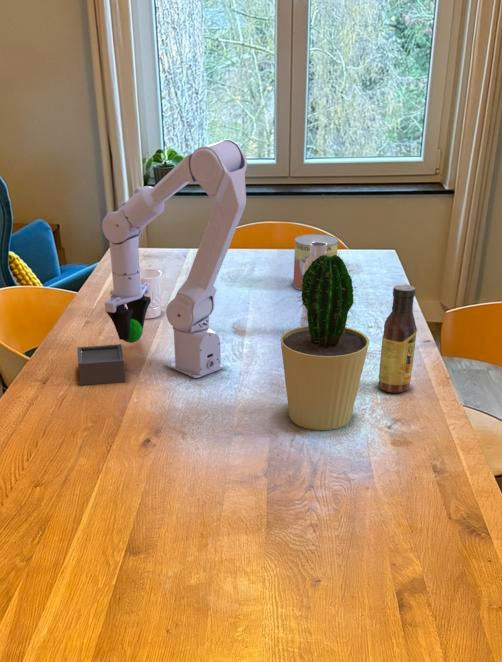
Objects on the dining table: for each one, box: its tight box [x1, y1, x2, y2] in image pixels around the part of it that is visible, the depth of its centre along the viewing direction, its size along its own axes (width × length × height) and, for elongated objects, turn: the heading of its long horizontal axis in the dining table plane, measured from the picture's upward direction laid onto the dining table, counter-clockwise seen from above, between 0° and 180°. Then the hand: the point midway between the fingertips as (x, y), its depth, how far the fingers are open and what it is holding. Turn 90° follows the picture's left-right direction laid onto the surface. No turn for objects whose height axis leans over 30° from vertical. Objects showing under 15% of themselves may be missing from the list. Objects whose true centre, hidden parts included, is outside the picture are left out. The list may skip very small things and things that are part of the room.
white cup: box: [140, 268, 163, 320], centre depth 191 cm, size 8×8×10 cm
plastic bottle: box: [299, 242, 327, 327], centre depth 177 cm, size 6×7×20 cm
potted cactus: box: [280, 251, 370, 431], centre depth 138 cm, size 15×15×30 cm
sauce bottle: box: [378, 284, 418, 394], centre depth 151 cm, size 6×6×20 cm
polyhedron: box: [123, 319, 143, 344], centre depth 169 cm, size 5×5×5 cm
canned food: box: [292, 233, 340, 291], centre depth 209 cm, size 11×11×12 cm
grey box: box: [76, 343, 127, 386], centre depth 162 cm, size 9×9×5 cm
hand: (131, 335), depth 170 cm, fingers closed on polyhedron, 5 cm apart
